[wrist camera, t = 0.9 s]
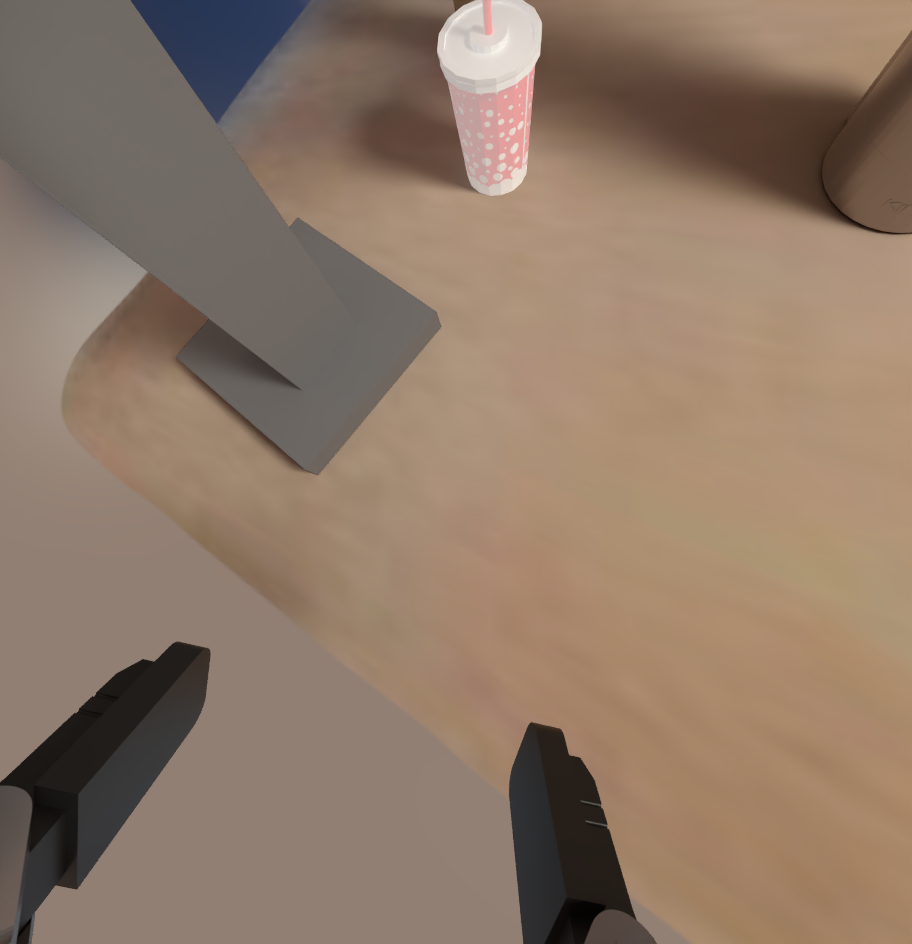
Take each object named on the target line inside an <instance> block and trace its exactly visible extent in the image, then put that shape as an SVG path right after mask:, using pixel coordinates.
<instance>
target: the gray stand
mask: <svg viewBox="0 0 912 944" xmlns="http://www.w3.org/2000/svg"><path fill="white" fill-rule="evenodd" d="M0 158H1V159H3V160H4V161H5V162H6V163H8V164H9V165H10V166H11V167H13V168H14V169H15V170H17V171H18V172H19V173H21V174H22V175H23V176H24V177H26V178H27V179H28V180H30V181H31V182H32V183H34V184H35V185H36V186H37V187H39V188H40V189H41V190H43V191H44V192H45V193H47V194H48V195H49V196H51V197H52V198H53V199H54V200H56V201H57V202H58V203H60V204H61V205H62V206H64V207H65V208H66V209H67V210H69V211H70V212H71V213H73V214H74V215H75V216H76V217H78V218H79V219H80V220H82V221H83V222H84V223H85V224H87V225H88V226H90V227H91V228H92V229H93V230H95V231H96V232H97V233H98V234H100V235H101V236H102V237H104V238H105V239H106V240H108V241H109V242H110V243H111V244H113V245H114V246H115V247H117V248H118V249H119V250H121V251H122V252H123V253H125V254H126V255H127V256H129V257H130V258H131V259H132V260H134V261H135V262H136V263H138V264H139V265H140V266H141V267H143V268H144V269H145V270H147V271H148V272H149V273H150V274H152V275H153V276H154V277H156V278H157V279H158V280H160V281H161V282H162V283H163V284H165V285H166V286H167V287H169V288H170V289H171V290H173V291H174V292H175V293H176V294H178V295H179V296H180V297H182V298H183V299H184V300H186V301H187V302H188V303H189V304H191V305H192V306H193V307H195V308H196V309H197V310H199V311H200V312H201V313H202V314H204V315H205V316H206V317H208V318H209V319H208V321H207V322H206V323H205V324H204V325H203V326H202V327H201V329H200V330H199V331H198V332H197V333H196V334H195V335H194V337H193V338H192V339H191V340H190V341H189V342H188V343H187V345H186V346H185V347H184V348H183V349H182V350H181V351H180V353H179V354H178V355H177V356H176V358H177V359H178V360H180V361H181V362H182V363H183V364H184V365H185V366H187V367H188V368H189V369H190V370H191V371H192V372H193V373H195V374H196V375H197V376H198V377H199V378H200V379H201V380H203V381H204V382H205V383H206V384H207V385H208V386H209V387H211V388H212V389H213V390H214V391H215V392H216V393H217V394H219V395H220V396H221V397H222V398H223V399H224V400H226V401H227V402H228V403H229V404H230V405H231V406H232V407H234V408H235V409H236V410H237V411H238V412H239V413H240V414H242V415H243V416H244V417H245V418H246V419H247V420H248V421H250V422H251V423H252V424H253V425H254V426H255V427H256V428H258V429H259V430H260V431H261V432H262V433H263V434H264V435H266V436H267V437H268V438H269V439H270V440H271V441H273V442H274V443H275V444H276V445H277V446H278V447H279V448H281V449H282V450H283V451H284V452H285V453H286V454H287V455H289V456H290V457H291V458H292V459H293V460H294V461H295V462H297V463H298V464H299V465H300V466H301V467H302V468H303V469H305V470H307V471H309V472H312V473H314V474H317V475H319V473H320V472H321V471H322V470H323V469H324V467H325V466H326V465H327V464H328V463H329V461H330V460H331V459H332V458H333V457H334V455H335V454H336V453H337V452H338V451H339V449H340V448H341V447H342V446H343V444H344V443H345V442H346V441H347V440H348V438H349V437H350V436H351V435H352V434H353V432H354V431H355V430H356V429H357V428H358V426H359V425H360V424H361V423H362V422H363V420H364V419H365V418H366V417H367V416H368V414H369V413H370V412H371V411H372V410H373V408H374V407H375V406H376V405H377V404H378V402H379V401H380V400H381V399H382V398H383V396H384V395H385V394H386V393H387V391H388V390H389V389H390V388H391V387H392V385H393V384H394V383H395V382H396V381H397V379H398V378H399V377H400V376H401V375H402V373H403V372H404V371H405V370H406V369H407V367H408V366H409V365H410V364H411V363H412V361H413V360H414V359H415V358H416V357H417V355H418V354H419V353H420V352H421V351H422V349H423V348H424V347H425V346H426V345H427V343H428V342H429V341H430V340H431V338H432V337H433V336H434V335H435V334H436V332H437V331H438V330H439V329H440V328H441V324H440V321H439V318H438V315H437V312H436V311H435V310H433V309H432V308H430V307H429V306H427V305H426V304H424V303H423V302H421V301H420V300H418V299H417V298H416V297H414V296H413V295H411V294H410V293H408V292H407V291H405V290H404V289H402V288H401V287H399V286H398V285H396V284H395V283H393V282H392V281H391V280H389V279H388V278H386V277H385V276H383V275H382V274H380V273H379V272H377V271H376V270H374V269H373V268H371V267H370V266H368V265H367V264H365V263H364V262H363V261H361V260H360V259H358V258H357V257H355V256H354V255H352V254H351V253H349V252H348V251H346V250H345V249H343V248H342V247H340V246H339V245H338V244H336V243H335V242H333V241H332V240H330V239H329V238H327V237H326V236H324V235H323V234H321V233H320V232H318V231H317V230H315V229H314V228H313V227H311V226H310V225H308V224H307V223H305V222H304V221H302V220H301V219H299V218H297V219H296V220H295V221H294V222H293V223H292V224H291V226H290V227H288V225H287V224H286V222H285V221H284V219H283V218H282V217H281V215H280V214H279V212H278V211H277V209H276V208H275V207H274V205H273V204H272V202H271V201H270V199H269V198H268V197H267V195H266V194H265V192H264V191H263V189H262V188H261V187H260V185H259V184H258V182H257V181H256V179H255V178H254V177H253V175H252V174H251V172H250V171H249V169H248V168H247V167H246V165H245V164H244V162H243V161H242V159H241V158H240V157H239V155H238V154H237V152H236V151H235V149H234V148H233V147H232V145H231V144H230V142H229V141H228V139H227V138H226V137H225V135H224V134H223V132H222V131H221V129H220V128H219V127H218V125H217V124H216V122H215V121H214V119H213V118H212V117H211V115H210V114H209V113H208V111H207V110H206V108H205V107H204V105H203V104H202V102H201V101H200V100H199V98H198V97H197V95H196V94H195V92H194V91H193V89H192V88H191V87H190V85H189V84H188V82H187V81H186V79H185V78H184V77H183V75H182V74H181V72H180V71H179V69H178V68H177V67H176V65H175V64H174V62H173V61H172V60H171V58H170V57H169V55H168V54H167V52H166V51H165V49H164V48H163V47H162V45H161V44H160V42H159V41H158V39H157V38H156V37H155V35H154V34H153V32H152V31H151V30H150V28H149V27H148V25H147V24H146V22H145V21H144V19H143V18H142V17H141V15H140V14H139V12H138V11H137V9H136V8H135V7H134V5H133V4H132V2H131V1H130V0H0Z"/></svg>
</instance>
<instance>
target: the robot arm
mask: <svg viewBox="0 0 912 944" xmlns="http://www.w3.org/2000/svg"><path fill="white" fill-rule="evenodd" d="M822 179H823V183H824V187H825V190H826V192H827V194H828V196H829V197H830V199H831V201H832V202H833V203H834V204H835V205H836V206H837V208H838V209H839V210H840V211H841V212H843V213H844V214H845V215H847V216H848V217H849V218H851V219H852V220H854V221H856V222H858V223H860V224H862V225H865V226H867V227H870V228H874V229H877V230H881V231H886V232H895V233H912V31H911V32H910V33H909V35H908V36H907V37H906V39H905V40H904V41H903V43H902V44H901V46H900V47H899V48H898V50H897V51H896V52H895V54H894V55H893V56H892V58H891V59H890V60H889V62H888V63H887V64H886V66H885V67H884V69H883V70H882V71H881V73H880V74H879V75H878V77H877V78H876V79H875V81H874V82H873V83H872V85H871V86H870V87H869V89H868V90H867V92H866V93H865V94H864V96H863V97H862V98H861V100H860V101H859V102H858V104H857V105H856V106H855V108H854V109H853V110H852V112H851V113H850V115H849V116H848V117H847V124H846V126H845V127H844V128H843V130H842V131H841V132H840V134H839V135H838V136H837V138H836V139H835V140H834V142H833V143H832V145H831V146H830V148H829V149H828V151H827V153H826V155H825V158H824V161H823V165H822ZM209 662H210V650H209V649H208V648H204V647H200V646H195V645H191V644H187V643H182V642H175V643H173V644H172V645H171V646H170V647H169V648H168V649H167V650H166V651H165V652H164V653H163V654H162V655H161V656H160V657H159V658H158V659H157V660H156V661H155V662H153V661H148V660H144V659H142V660H141V661H139V662H137V663H135V664H133V665H131V666H130V667H128V668H126V669H124V670H122V671H120V672H118V673H117V674H116V675H115V676H114V677H112V678H111V679H110V680H109V681H108V682H107V683H106V684H105V685H104V686H103V687H102V688H101V689H100V690H99V691H98V692H96V695H95V696H94V697H93V696H92V697H91V698H90V699H89V700H88V701H87V702H86V703H85V704H84V705H83V706H82V707H81V708H79V711H78V712H77V713H74V714H73V715H72V716H71V717H70V718H69V719H68V720H67V721H66V722H64V723H63V724H62V725H61V726H60V727H59V728H58V729H57V730H56V731H55V732H54V733H53V734H52V735H51V736H50V737H49V738H47V739H46V740H45V741H44V742H43V743H42V744H41V745H40V746H39V747H38V748H37V749H36V750H35V751H34V752H33V753H31V754H30V755H29V756H28V757H27V758H26V759H25V760H24V761H23V762H22V763H21V764H20V765H19V766H18V767H17V768H16V769H15V770H13V771H12V772H11V773H10V774H9V775H8V776H7V777H6V778H5V779H4V780H2V781H1V782H0V944H31V943H32V936H33V927H34V919H35V911H36V910H37V909H38V908H39V906H40V905H41V904H42V902H43V901H44V900H45V898H46V897H47V896H48V894H49V893H50V892H51V890H52V889H53V888H54V886H55V885H57V886H62V887H67V888H72V889H78V887H79V886H80V885H81V883H82V882H83V880H84V879H85V877H86V876H87V875H88V873H89V872H90V871H91V869H92V868H93V866H94V865H95V863H96V862H97V861H98V859H99V858H100V856H101V855H102V854H103V852H104V851H105V850H106V848H107V847H108V845H109V844H110V842H111V841H112V840H113V838H114V837H115V835H116V834H117V833H118V831H119V830H120V829H121V827H122V826H123V824H124V823H125V821H126V820H127V819H128V817H129V816H130V815H131V813H132V812H133V810H134V809H135V808H136V806H137V805H138V803H139V802H140V801H141V799H142V798H143V796H144V795H145V794H146V792H147V791H148V789H149V788H150V787H151V785H152V784H153V782H154V781H155V780H156V778H157V777H158V775H159V774H160V773H161V771H162V770H163V768H164V767H165V766H166V764H167V763H168V761H169V760H170V759H171V757H172V756H173V754H174V753H175V752H176V750H177V749H178V747H179V746H180V745H181V743H182V742H183V740H184V739H185V738H186V736H187V735H188V733H189V732H190V730H191V729H192V728H193V726H194V725H195V723H196V721H197V719H198V717H199V715H200V713H201V711H202V708H203V705H204V702H205V697H206V689H207V680H208V672H209ZM509 799H510V809H511V818H512V819H511V820H512V829H513V839H514V851H515V861H516V871H517V881H518V892H519V903H520V913H521V923H522V933H523V944H657V943H656V942H655V940H654V938H653V937H652V936H651V934H650V933H649V932H648V931H647V930H646V929H645V928H644V927H643V926H642V925H641V924H640V923H639V922H638V921H637V920H636V918H635V914H634V912H633V909H632V906H631V902H630V899H629V895H628V892H627V888H626V885H625V882H624V878H623V875H622V872H621V868H620V865H619V861H618V858H617V855H616V851H615V848H614V845H613V841H612V838H611V834H610V831H609V829H607V821H606V818H605V814H604V811H603V809H602V808H601V801H600V797H599V794H598V791H597V787H596V784H595V780H594V779H593V777H592V775H591V774H590V772H589V771H588V769H587V768H586V766H585V764H584V763H583V761H582V760H581V758H579V757H575V756H570V755H569V754H568V750H567V746H566V742H565V738H564V734H563V732H562V730H561V729H559V728H555V727H550V726H546V725H541V724H537V723H532V722H531V723H530V724H529V725H528V727H527V730H526V732H525V735H524V738H523V740H522V743H521V746H520V748H519V751H518V753H517V756H516V759H515V761H514V764H513V767H512V770H511V776H510V784H509Z"/></svg>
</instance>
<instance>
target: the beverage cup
mask: <svg viewBox="0 0 912 944" xmlns="http://www.w3.org/2000/svg"><path fill="white" fill-rule="evenodd" d="M541 36H542V21H541V20H540V18H539V16H538V14H537V12H536V10H535V8H534V7H532V6H531V5H529V4H528V3H526V2H525V1H523V0H475V1H473V2H470V3H468V4H466V5H463V6H462V7H461V8H460V9H458V10H457V11H456V12H455V13H454V14H453V15H451V16H450V17H449V18H448V19H447V21H446V23H445V24H444V26H443V28H442V29H441V31H440V33H439V37H438V46H437V53H438V57H439V59H440V66H441V69H442V71H443V73H444V76H445V78H446V80H447V81H448V86H449V90H450V95H451V100H452V104H453V109H454V114H455V119H456V123H457V128H458V133H459V137H460V142H461V147H462V151H463V156H464V161H465V166H466V170H467V175H468V178H469V181H470V183H471V186H472V187H473V188H475V189H476V190H477V191H478V192H479V193H483V194H486V195H489V196H493V195H503V194H505V193H508V192H510V191H513V190H514V189H515V188H516V187H517V186H518V185H519V184H521V182H522V180H523V179H524V177H525V175H526V170H527V158H528V146H529V134H530V122H531V110H532V98H533V86H534V74H535V64H536V62H537V60H538V58H539V56H540V48H541Z"/></svg>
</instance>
